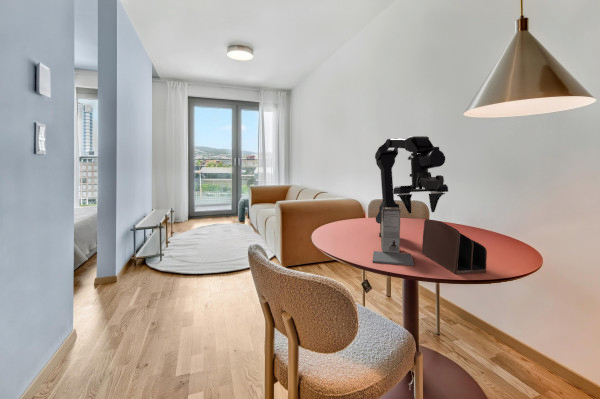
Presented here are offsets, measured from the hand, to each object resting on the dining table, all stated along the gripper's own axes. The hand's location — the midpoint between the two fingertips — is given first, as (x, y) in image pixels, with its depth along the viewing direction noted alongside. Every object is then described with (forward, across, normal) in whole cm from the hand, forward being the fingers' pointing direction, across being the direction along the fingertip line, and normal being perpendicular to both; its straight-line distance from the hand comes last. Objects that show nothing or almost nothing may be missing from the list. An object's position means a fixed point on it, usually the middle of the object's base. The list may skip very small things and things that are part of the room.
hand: (421, 212), depth 103 cm
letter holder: (+17, +4, -10) cm, 20 cm away
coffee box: (+14, -10, +6) cm, 18 cm away
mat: (+15, -14, -2) cm, 21 cm away
